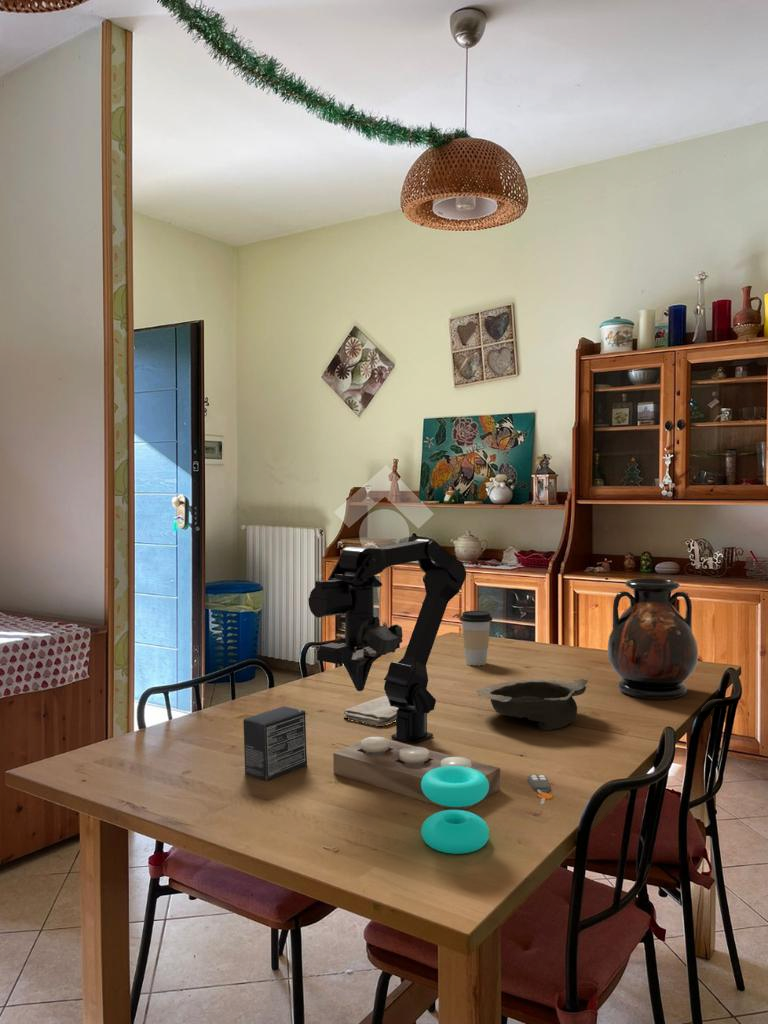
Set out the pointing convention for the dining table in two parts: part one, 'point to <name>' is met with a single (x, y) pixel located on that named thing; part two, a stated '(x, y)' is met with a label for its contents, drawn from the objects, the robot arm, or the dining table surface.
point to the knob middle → (414, 755)
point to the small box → (275, 742)
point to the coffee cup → (476, 636)
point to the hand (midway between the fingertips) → (360, 690)
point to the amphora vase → (652, 641)
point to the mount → (400, 771)
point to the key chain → (540, 786)
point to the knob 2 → (456, 762)
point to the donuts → (455, 826)
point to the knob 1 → (375, 745)
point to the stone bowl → (537, 700)
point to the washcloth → (373, 712)
